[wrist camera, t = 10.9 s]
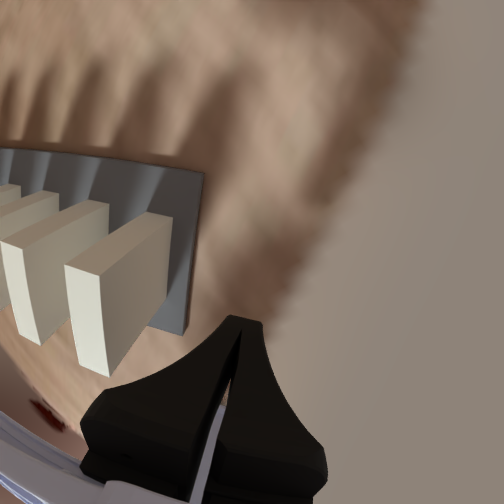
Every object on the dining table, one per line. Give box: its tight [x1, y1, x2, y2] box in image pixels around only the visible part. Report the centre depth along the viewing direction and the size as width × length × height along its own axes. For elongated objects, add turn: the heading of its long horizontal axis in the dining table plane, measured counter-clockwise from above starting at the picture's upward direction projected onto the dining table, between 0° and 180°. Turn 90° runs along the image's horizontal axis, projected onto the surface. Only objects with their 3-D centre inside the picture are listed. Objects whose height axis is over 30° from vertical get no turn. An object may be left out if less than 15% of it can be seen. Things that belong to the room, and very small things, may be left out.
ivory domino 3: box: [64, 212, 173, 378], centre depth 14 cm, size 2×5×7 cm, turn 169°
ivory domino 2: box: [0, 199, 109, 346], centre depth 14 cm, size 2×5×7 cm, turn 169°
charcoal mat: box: [0, 147, 204, 336], centre depth 18 cm, size 10×24×1 cm, turn 79°
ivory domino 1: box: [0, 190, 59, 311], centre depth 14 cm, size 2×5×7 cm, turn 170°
